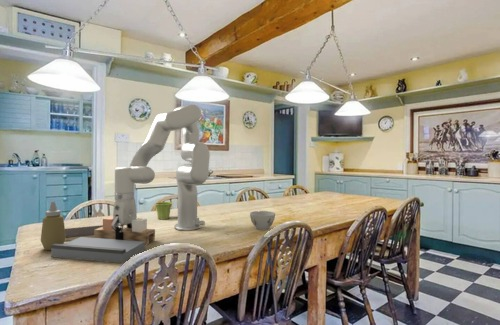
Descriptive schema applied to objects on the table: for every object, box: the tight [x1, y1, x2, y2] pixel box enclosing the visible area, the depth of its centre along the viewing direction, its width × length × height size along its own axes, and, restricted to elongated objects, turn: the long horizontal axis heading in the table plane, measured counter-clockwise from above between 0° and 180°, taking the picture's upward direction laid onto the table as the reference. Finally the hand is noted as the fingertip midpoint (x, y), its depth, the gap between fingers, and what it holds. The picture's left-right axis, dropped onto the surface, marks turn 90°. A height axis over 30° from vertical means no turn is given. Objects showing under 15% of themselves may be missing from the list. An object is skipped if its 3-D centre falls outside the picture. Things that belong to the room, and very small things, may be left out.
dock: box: [50, 237, 146, 264], centre depth 105 cm, size 28×14×4 cm, turn 80°
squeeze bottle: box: [40, 201, 66, 251], centre depth 110 cm, size 8×8×18 cm
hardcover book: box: [64, 224, 103, 242], centre depth 128 cm, size 16×23×2 cm
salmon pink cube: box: [102, 216, 113, 230], centre depth 121 cm, size 4×4×4 cm
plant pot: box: [154, 201, 173, 220], centre depth 162 cm, size 9×9×9 cm
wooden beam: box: [94, 226, 156, 246], centre depth 120 cm, size 24×6×5 cm, turn 80°
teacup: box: [249, 210, 276, 231], centre depth 143 cm, size 15×12×8 cm
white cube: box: [132, 217, 148, 232], centre depth 119 cm, size 4×4×4 cm
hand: (124, 238), depth 120 cm, fingers closed on wooden beam, 6 cm apart
